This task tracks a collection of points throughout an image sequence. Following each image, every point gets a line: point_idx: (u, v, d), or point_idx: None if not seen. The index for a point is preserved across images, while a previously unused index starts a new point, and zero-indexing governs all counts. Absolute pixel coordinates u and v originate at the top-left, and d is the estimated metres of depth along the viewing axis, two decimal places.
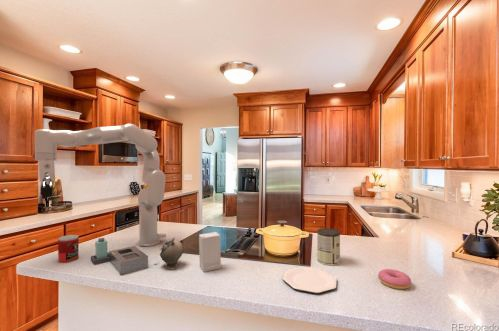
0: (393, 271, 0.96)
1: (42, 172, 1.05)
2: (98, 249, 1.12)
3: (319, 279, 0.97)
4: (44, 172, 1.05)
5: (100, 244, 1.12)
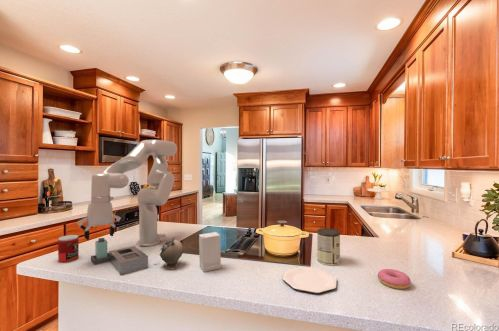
0: (393, 271, 0.96)
1: (112, 213, 1.16)
2: (98, 249, 1.12)
3: (319, 279, 0.97)
4: (112, 213, 1.16)
5: (100, 244, 1.12)
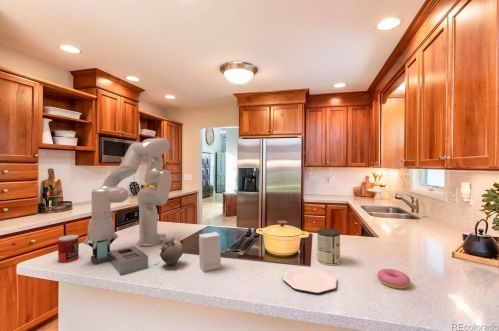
0: (392, 271, 0.96)
1: (113, 228, 1.16)
2: (98, 249, 1.12)
3: (319, 279, 0.97)
4: (113, 228, 1.17)
5: (100, 244, 1.12)
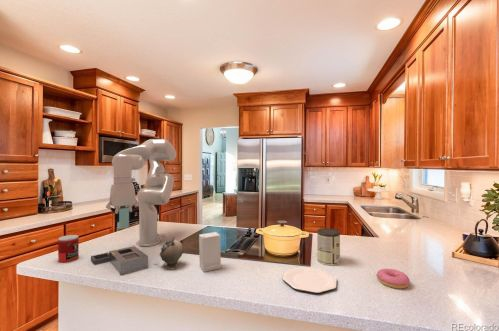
0: (392, 270, 0.97)
1: None
2: (120, 215, 1.11)
3: (319, 279, 0.97)
4: None
5: (122, 210, 1.11)
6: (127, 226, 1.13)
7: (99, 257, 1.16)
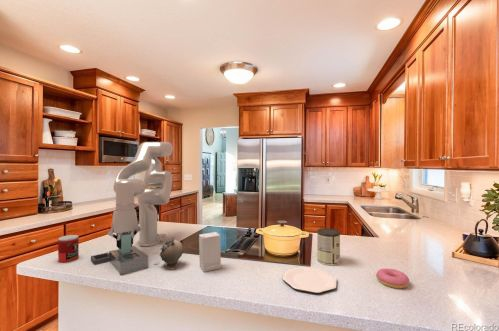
0: (391, 270, 0.97)
1: None
2: (122, 242, 1.11)
3: (319, 279, 0.97)
4: None
5: (124, 237, 1.11)
6: None
7: (99, 257, 1.16)
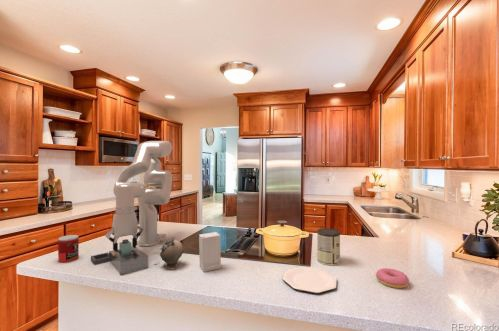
0: (391, 270, 0.97)
1: None
2: (123, 251, 1.11)
3: (319, 279, 0.97)
4: None
5: (125, 245, 1.12)
6: None
7: (99, 257, 1.16)
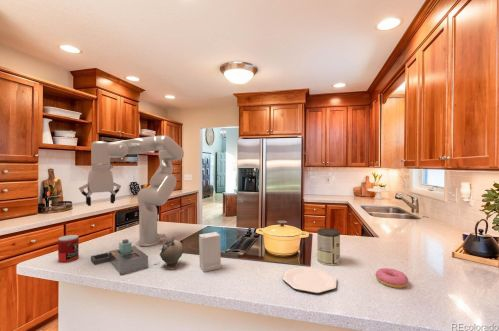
0: (390, 270, 0.97)
1: None
2: (123, 251, 1.11)
3: (319, 279, 0.97)
4: None
5: (125, 245, 1.12)
6: None
7: (99, 257, 1.16)
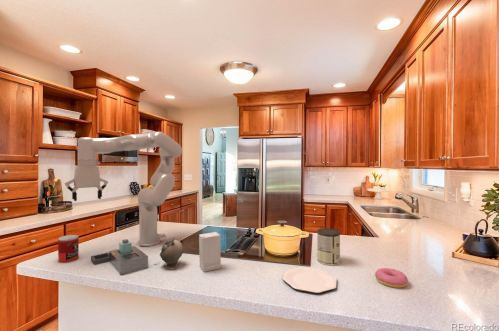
0: (390, 270, 0.97)
1: (99, 177, 1.19)
2: (123, 251, 1.11)
3: (319, 279, 0.97)
4: (99, 177, 1.20)
5: (125, 245, 1.12)
6: None
7: (99, 257, 1.16)
